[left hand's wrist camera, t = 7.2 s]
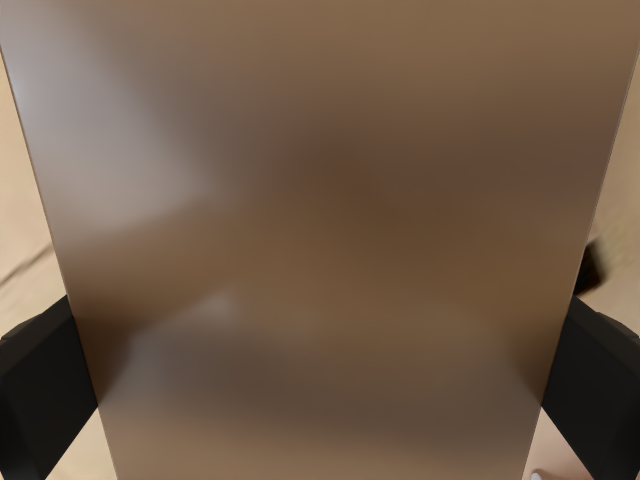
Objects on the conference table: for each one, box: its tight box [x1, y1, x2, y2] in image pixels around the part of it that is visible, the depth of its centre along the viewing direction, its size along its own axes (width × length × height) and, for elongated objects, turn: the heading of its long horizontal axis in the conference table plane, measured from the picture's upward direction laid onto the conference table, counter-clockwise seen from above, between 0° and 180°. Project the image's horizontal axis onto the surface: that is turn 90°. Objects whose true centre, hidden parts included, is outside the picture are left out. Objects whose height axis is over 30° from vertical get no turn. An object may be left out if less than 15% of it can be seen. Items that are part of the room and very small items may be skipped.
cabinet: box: [0, 0, 640, 480], centre depth 11 cm, size 20×11×8 cm, turn 0°
